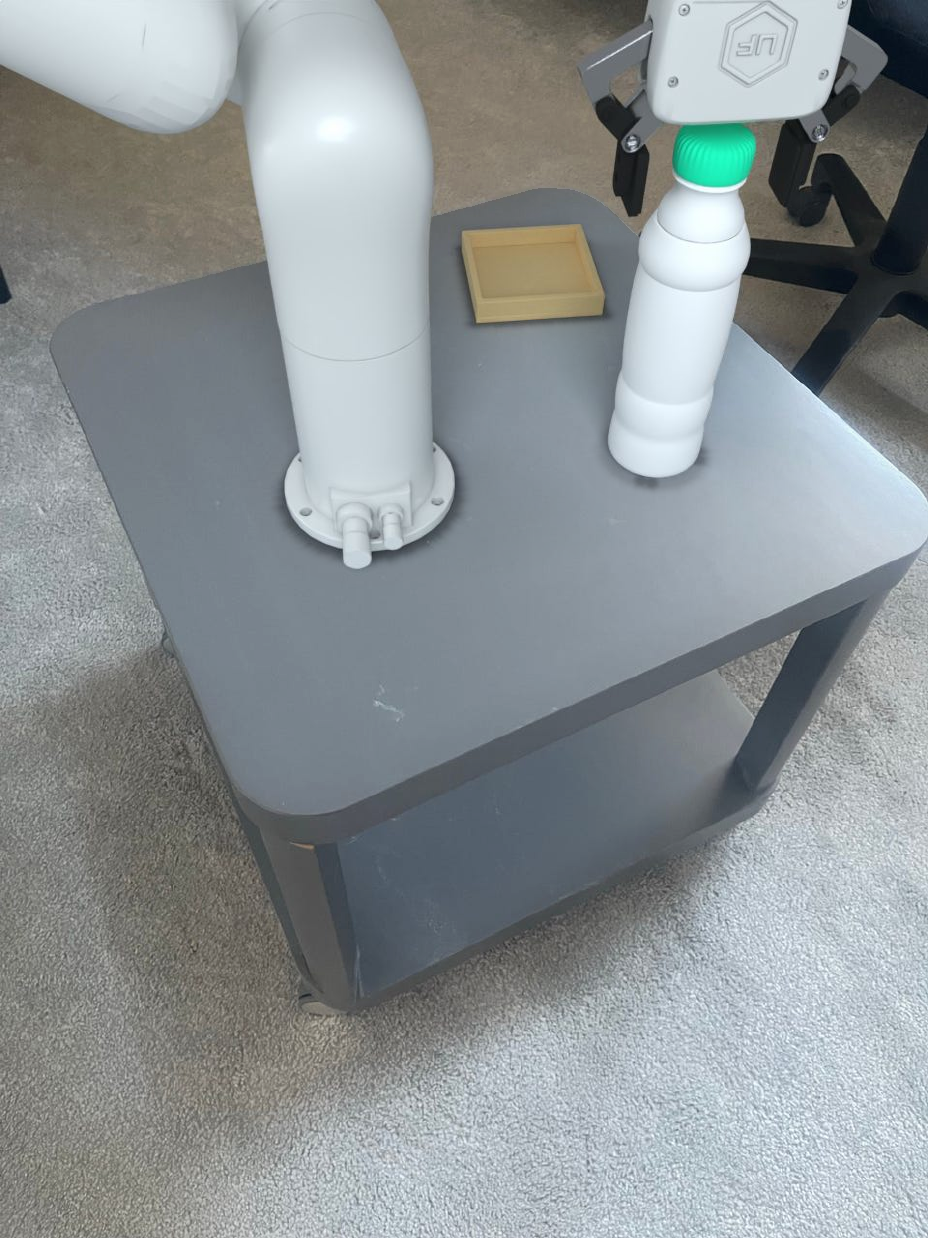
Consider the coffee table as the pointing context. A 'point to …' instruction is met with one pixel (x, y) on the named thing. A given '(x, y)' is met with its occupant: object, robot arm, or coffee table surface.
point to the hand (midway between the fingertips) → (705, 199)
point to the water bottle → (683, 302)
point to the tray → (531, 273)
